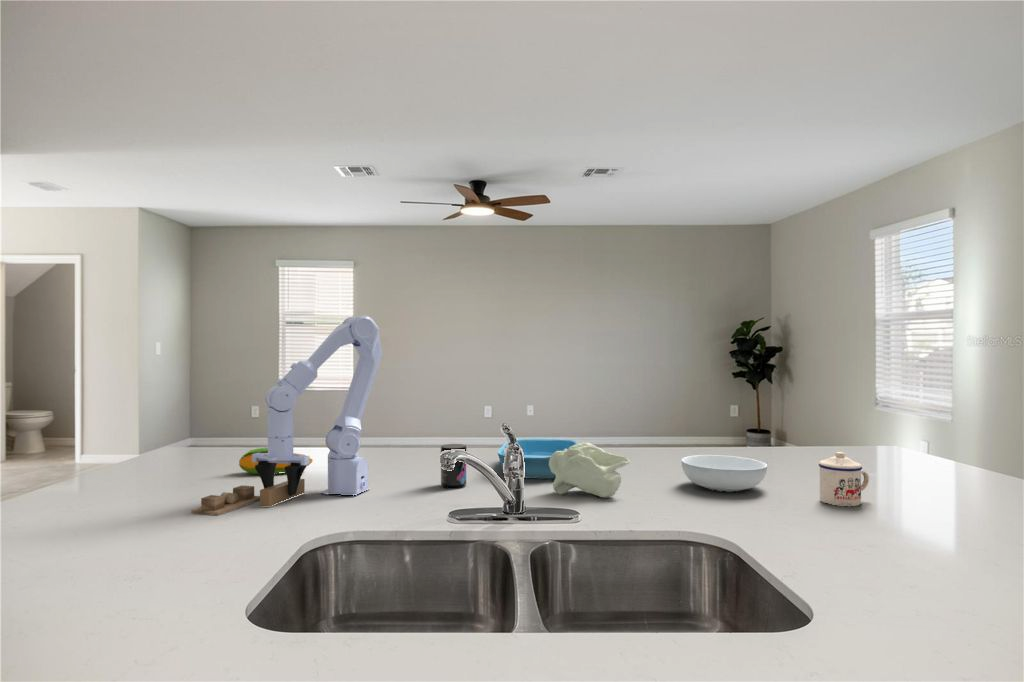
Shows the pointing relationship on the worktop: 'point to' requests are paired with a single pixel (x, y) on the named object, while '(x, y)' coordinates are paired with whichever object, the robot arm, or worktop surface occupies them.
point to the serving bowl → (724, 472)
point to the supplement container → (457, 475)
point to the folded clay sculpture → (586, 470)
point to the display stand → (227, 501)
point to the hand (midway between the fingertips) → (280, 493)
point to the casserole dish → (538, 454)
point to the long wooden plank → (279, 493)
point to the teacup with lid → (841, 481)
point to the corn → (250, 466)
